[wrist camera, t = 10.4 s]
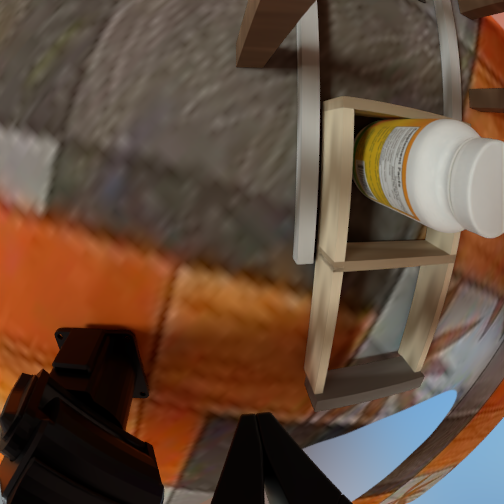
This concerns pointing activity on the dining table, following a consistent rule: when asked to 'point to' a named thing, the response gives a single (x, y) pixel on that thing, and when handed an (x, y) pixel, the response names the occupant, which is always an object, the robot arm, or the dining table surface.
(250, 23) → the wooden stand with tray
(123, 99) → the dining table surface
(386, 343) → the dining table surface
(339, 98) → the wooden rack
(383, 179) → the supplement bottle
